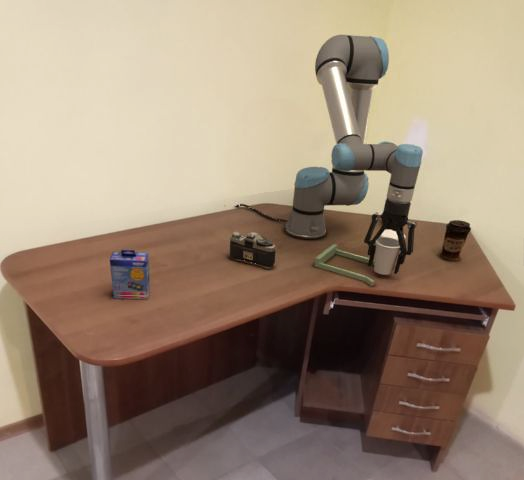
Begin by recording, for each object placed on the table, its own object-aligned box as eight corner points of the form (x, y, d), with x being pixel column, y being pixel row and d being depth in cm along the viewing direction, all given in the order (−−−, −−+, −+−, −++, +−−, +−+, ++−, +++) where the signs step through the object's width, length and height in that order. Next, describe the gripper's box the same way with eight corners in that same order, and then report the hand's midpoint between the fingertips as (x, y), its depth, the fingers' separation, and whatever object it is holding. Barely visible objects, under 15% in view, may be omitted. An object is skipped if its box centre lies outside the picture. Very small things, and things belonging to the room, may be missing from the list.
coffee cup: (462, 264, 183) (473, 229, 176) (438, 260, 184) (448, 225, 177) (460, 254, 190) (470, 220, 183) (437, 251, 191) (446, 217, 184)
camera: (282, 260, 175) (285, 231, 169) (269, 271, 167) (272, 242, 161) (240, 249, 180) (242, 221, 174) (226, 259, 172) (227, 230, 166)
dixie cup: (364, 268, 170) (370, 239, 164) (381, 263, 174) (387, 235, 169) (383, 278, 164) (390, 249, 159) (400, 273, 169) (408, 244, 163)
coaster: (374, 244, 192) (376, 235, 190) (380, 235, 200) (381, 227, 198) (401, 250, 190) (403, 241, 188) (405, 241, 197) (408, 232, 195)
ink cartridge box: (112, 299, 144) (107, 250, 136) (115, 290, 149) (111, 242, 141) (148, 300, 145) (146, 252, 137) (150, 291, 150) (148, 244, 142)
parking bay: (312, 267, 171) (313, 259, 170) (334, 250, 185) (335, 242, 183) (372, 286, 163) (374, 277, 162) (391, 266, 177) (393, 258, 175)
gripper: (361, 195, 157) (348, 263, 170) (429, 211, 149) (411, 282, 162) (370, 189, 163) (357, 256, 176) (436, 204, 155) (417, 273, 168)
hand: (383, 268), depth 169 cm, fingers closed on dixie cup, 8 cm apart
